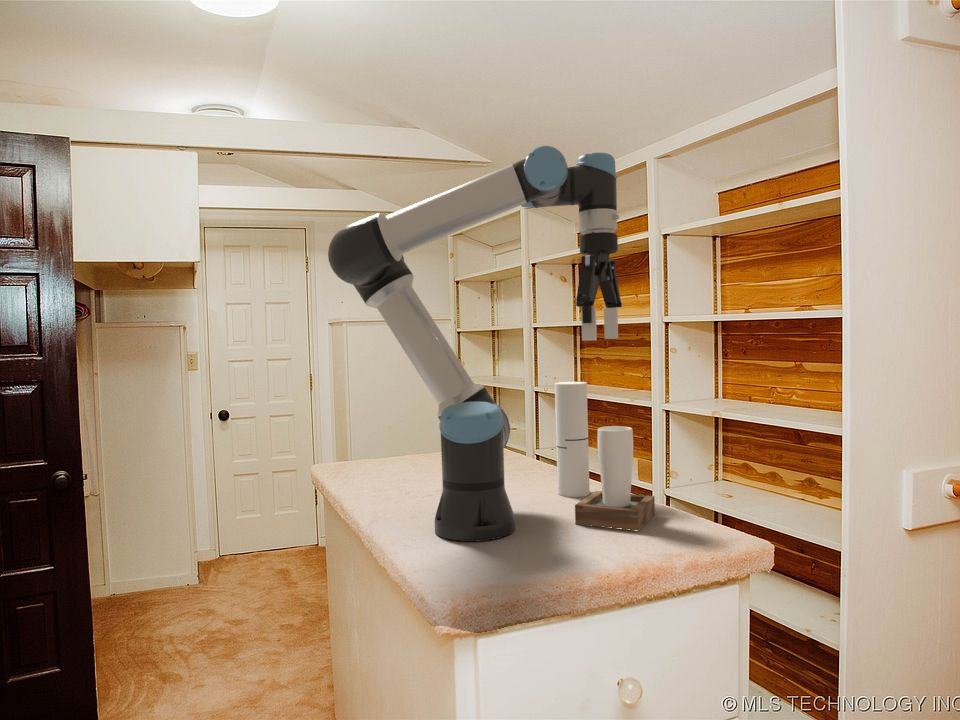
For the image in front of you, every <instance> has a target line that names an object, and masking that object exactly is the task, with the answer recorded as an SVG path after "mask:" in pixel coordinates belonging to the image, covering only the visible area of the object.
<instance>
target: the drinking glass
mask: <svg viewBox="0 0 960 720" xmlns="http://www.w3.org/2000/svg"><path fill="white" fill-rule="evenodd" d="M596 434H597V436H596V437H597V438H596V439H597V440H596V441H597V454H598V456H597V457H598V466H599V473H600V484H601V491H602V497H603V504H604V505H605V506H611V507H621V508H625V507H628V506H630V504H631V494H632V479H633V478H632V476H633V465H634V464H633V463H634V462H633V461H634V460H633V459H634V431H633V428H632V427H629V426H625V425H624V426H623V425H622V426H621V425H611V426H610V425H608V426H601V427H598V428H597V433H596Z"/></svg>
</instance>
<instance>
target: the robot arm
mask: <svg viewBox="0 0 960 720" xmlns="http://www.w3.org/2000/svg"><path fill="white" fill-rule="evenodd" d="M576 163H577V164H576V166H575V165H574V166H568V164H567V161H566V158H565V156H564V154H563V153H562V152H561V151H560V150H559V149H558V148H556V147H554V146H551V145H540V146H537V147H536V148H534V149H533V150H532V151H530V152H529V153H528V156H526V158H523V159H521V160H518V161H516V162H514V163H512V164H510V165H506V166H505V167H503V168H500V169H497V170H494V171H492V172H490V173H488V174H485V175H482V176H480V177H478V178H476V179H473V180H470V181H467V182H466V183H463V184H461V185H459V186H456V187H453V188H451V189H449V190H448V189H447V190H446V191H444V192H441V193H439V194H436V195H434V196H431V197H429V198H426V199H425V200H422V201H419V202H417V203H414V204H411V205H410V206H406V207H405V208H403V209H400V210H398V211H395V212H393V213H390V214H387V215H386V214H385V213H382V212H378V213H376V214H373V215H371V216H368V217H365V218H363V219H361V220H358V221H356V222H353V223H351V224H348V225H346V226H344V227H343V228H341V229H340V230H338V231H337V232H336V233H335V234H334V236H333V237H332V239H331V240H330V243H329V246H328V251H327V257H328V263H329V265H330V268H331V270H332V271H333V273H334V274H335V275H336V277H338V278H339V280H341V281H343V282H344V283H347V284H350V285H353V287H354V288H355V290H356V291H357V293H358V294H359V296H360V298H361V299H362V301H363V302H364V304H365V305H366V307H371V308H374V309H376V310H378V312H379V314H380V315H381V317H382V318H383V320H384V322H385V323H386V324H387V325H386V326H387V327H389V329H390V330H391V332H392V334H393V335H394V337H395V338H396V340H397V341H398V343H399V345H400V346H401V348H402V350H403V352H404V353H405V354H406V356H407V357H408V358H409V360H410V361H411V364H412V365H413V367H414V368H415V370H416V371H417V373H418V375H419V377H420V378H421V380H422V381H423V382H424V384H425V386H426V387H427V389H428V390H429V392H430V393H431V395H432V397H433V399H434V400H435V402H436V403H437V405H438V409H437V415H436V416H437V418H438V419H439V424H438V425H439V431H440V448H441V449H440V451H441V453H440V454H441V475H442V480H441V481H442V490H441V496H440V499H439V503H438V506H437V509H436V512H435V513H436V514H435V516H434V520H433V521H434V533H435V534H436V535H437V536H438V537H441V538H443V539H446V538H447V539H446V540H450V539H452V540H451V541H456V540H460V541H459V542H478V541H477V540H485V541H489V540H488V539H492V540H494V539H493V538H497V539H499V538H498V537H501V538H504V537H506V536H505V535H507V536H509V535H511V534H512V533H514V532H515V529H516V516H515V514H514V511H513V508H512V505H511V502H510V499H509V496H508V494H507V491H506V488H505V485H506V484H505V461H504V460H505V458H504V455H505V454H504V448H506V446H507V444H508V441H509V439H510V435H511V425H510V420H509V418H508V417H509V416H508V415H507V414H506V412H505V410H504V409H503V408H501V406H500V405H498V404H497V403H496V402H495V401H494V399H493V397H492V396H491V394H490V393H489V392H488V391H489V390H487V388H486V386H485V385H484V384H483V385H482V384H478V383H476V382H474V381H473V379H472V378H471V376H470V375H469V373H468V372H467V371H466V369H465V367H464V366H463V364H462V363H461V361H460V360H459V358H458V356H457V355H456V353H455V351H454V350H453V348H452V347H451V345H450V344H449V342H448V340H447V338H446V337H445V336H444V335H443V333H442V331H441V329H440V328H439V326H438V325H437V324H436V322H435V320H434V318H433V317H432V316H431V314H430V312H429V311H428V309H427V308H426V306H425V304H424V303H423V302H422V300H421V298H420V297H419V296H418V293H417V292H416V290H415V289H414V287H413V282H414V277H415V276H414V274H413V273H412V271H411V269H410V268H409V266H408V265H407V263H406V262H405V258H404V254H405V253H408V252H410V251H413V250H415V249H418V248H420V247H423V246H425V245H428V244H430V243H432V242H434V241H438V240H440V239H442V238H445V237H447V236H449V235H452V234H454V233H456V232H459V231H461V230H465V229H467V228H469V227H472V226H474V225H476V224H478V223H481V222H484V221H486V220H488V219H491V218H493V217H496V216H498V215H501V214H503V213H505V212H506V213H507V212H508V211H511V210H513V209H516V208H518V207H520V206H521V207H522V208H534V209H539V208H548V207H550V208H551V207H562V206H563V207H564V206H565V207H566V206H578V233H580V234H581V235H580V237H579V253H580V254H581V258H580V260H581V261H580V262H581V263H580V265H581V266H580V273H579V280H578V286H577V287H578V288H577V291H576V293H577V294H576V298H575V299H576V302H575V306H576V307H580V310H581V311H580V313H581V314H580V315H581V317H580V318H581V340H582V342H585V341H597V339H598V338H597V337H598V335H597V334H598V333H597V306H594V305H595V301H596V299H597V294H598V289H599V288H600V291H601V295H602V297H603V302H604V304H605V307H603V321H604V324H603V327H604V329H603V330H604V333H603V334H604V340H615V339H616V340H618V339H619V322H618V321H619V319H618V318H619V315H618V311H619V309H618V308H622V306H623V303H622V300H621V294H620V288H619V283H618V276H617V271H616V261H615V259H610V254H611V255H612V254H616V253H617V252H618V250H619V248H618V247H619V245H618V244H619V242H618V234H617V233H615V232H616V231H617V230H618V220H619V219H620V215H619V214H617V213H618V211H617V207H618V206H617V205H618V204H617V203H618V202H617V198H618V196H617V195H618V194H617V192H618V191H617V178H618V176H617V171H616V160H615V157H614V156H613V155H612V154H610V153H607V152H591V153H586V154H582V155H580V156H579V157H578V159H577V162H576ZM510 533H511V534H510ZM508 534H509V535H508ZM503 536H504V537H503Z"/></svg>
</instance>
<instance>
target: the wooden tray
mask: <svg viewBox="0 0 960 720" xmlns="http://www.w3.org/2000/svg"><path fill="white" fill-rule="evenodd" d="M655 501H656V500H655V496H654V495H647V494H634V493H631V504H630V506H628V507H625V508H621V507H611V506H605V505H604V504H603V497H602V490H601V491H600V490H595V491H594V492H592V493H589V495H587V496H585V498H583V499H582V500H580V501H579V502H577V503H576V504H574V513H575V515H574V516H575V517H574V519H575V520H574V521H575V525H578V524H580V525H581V526H586V525H592V526H591V527H594V526H604V527H612V528H622V529H630V530H639V529H640V528H641V527H642V526H643V525H644V524H645V523H646V522H647V521H648V520H649V519H650V520H651V519H652V518H653V517H654V516H655V514H656V512H655V511H656V510H655V505H656V504H655ZM650 520H649V521H650ZM649 521H648V522H649ZM648 522H647V523H648ZM647 523H646V524H647ZM646 524H645V525H646ZM580 525H579V526H580ZM645 525H644V526H645ZM644 526H643V527H644ZM643 527H642V528H643ZM642 528H641V529H642ZM641 529H640V530H641ZM640 530H639V531H640Z"/></svg>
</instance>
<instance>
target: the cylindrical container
mask: <svg viewBox="0 0 960 720" xmlns="http://www.w3.org/2000/svg"><path fill="white" fill-rule="evenodd" d="M554 401H555V402H554V406H555V410H554V411H555V438H556V440H555V442H556V443H555V444H556V478H557V479H556V481H557V483H556V484H557V494H558V495H559V496H562V497H565V498H566V497H567V498H582V497H587V496H589V495H590V494H591V493H590V462H589V461H590V460H589V459H590V458H589V455H590V454H589V452H590V451H589V423H588V422H589V420H588V419H589V416H588V382H586V381H559V382H554Z"/></svg>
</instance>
